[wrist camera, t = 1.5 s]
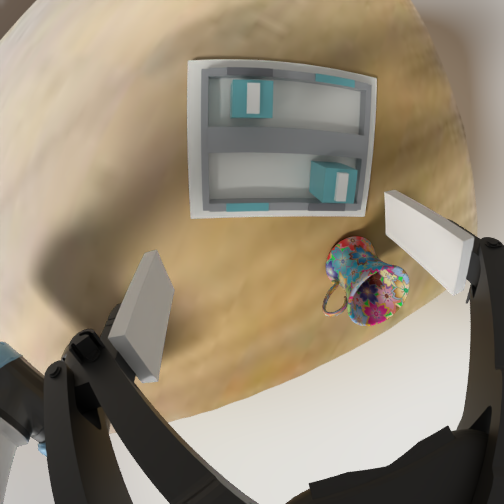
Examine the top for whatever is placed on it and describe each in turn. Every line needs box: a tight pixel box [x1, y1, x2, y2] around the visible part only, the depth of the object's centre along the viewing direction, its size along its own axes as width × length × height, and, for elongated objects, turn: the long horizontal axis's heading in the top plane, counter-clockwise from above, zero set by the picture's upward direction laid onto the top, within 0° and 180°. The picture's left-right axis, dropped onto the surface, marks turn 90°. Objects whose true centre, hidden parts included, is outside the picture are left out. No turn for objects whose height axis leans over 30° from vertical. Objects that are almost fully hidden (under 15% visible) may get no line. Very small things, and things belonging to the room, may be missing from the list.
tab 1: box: [230, 80, 273, 119], centre depth 26 cm, size 4×4×6 cm
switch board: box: [187, 59, 377, 219], centre depth 31 cm, size 24×20×3 cm
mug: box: [322, 236, 409, 326], centre depth 37 cm, size 12×9×11 cm
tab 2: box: [309, 161, 358, 204], centre depth 31 cm, size 4×4×6 cm
